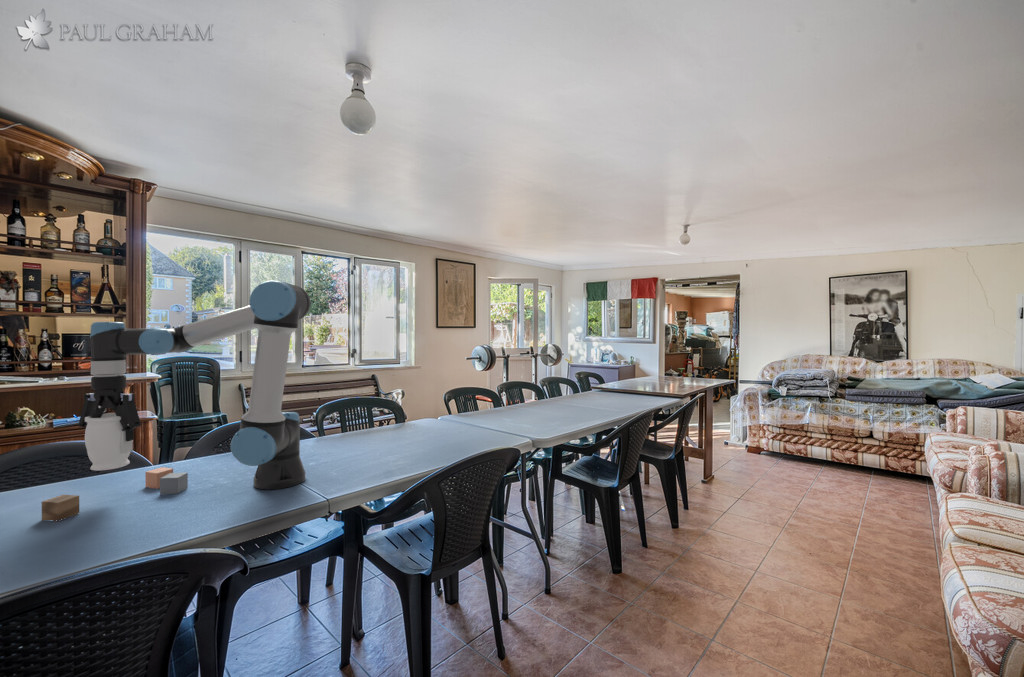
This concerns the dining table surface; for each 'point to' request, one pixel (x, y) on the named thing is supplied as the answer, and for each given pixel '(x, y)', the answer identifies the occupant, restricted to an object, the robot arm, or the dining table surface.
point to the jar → (105, 442)
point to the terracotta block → (156, 476)
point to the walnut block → (60, 507)
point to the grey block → (173, 483)
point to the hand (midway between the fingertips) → (110, 451)
